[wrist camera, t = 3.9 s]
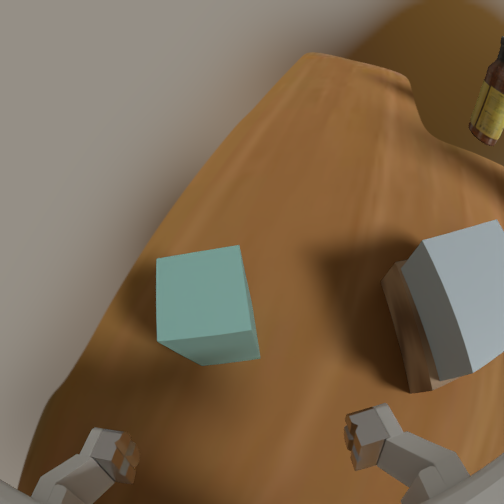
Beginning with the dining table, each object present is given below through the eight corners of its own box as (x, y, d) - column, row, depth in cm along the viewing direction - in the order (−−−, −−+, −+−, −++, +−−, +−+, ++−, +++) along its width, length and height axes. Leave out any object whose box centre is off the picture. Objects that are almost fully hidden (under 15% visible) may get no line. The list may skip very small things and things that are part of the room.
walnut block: (488, 355, 18) (514, 344, 14) (408, 393, 18) (432, 390, 14) (458, 263, 23) (478, 242, 19) (379, 283, 23) (395, 262, 19)
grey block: (510, 335, 15) (540, 319, 11) (439, 381, 15) (473, 372, 11) (473, 244, 19) (496, 219, 16) (400, 268, 19) (422, 240, 16)
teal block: (260, 358, 20) (251, 330, 12) (201, 365, 20) (157, 341, 12) (251, 303, 22) (239, 244, 15) (196, 311, 22) (156, 258, 15)
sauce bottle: (500, 149, 31) (538, 60, 14) (480, 146, 31) (520, 48, 14) (480, 125, 35) (511, 40, 17) (459, 121, 35) (490, 28, 17)
